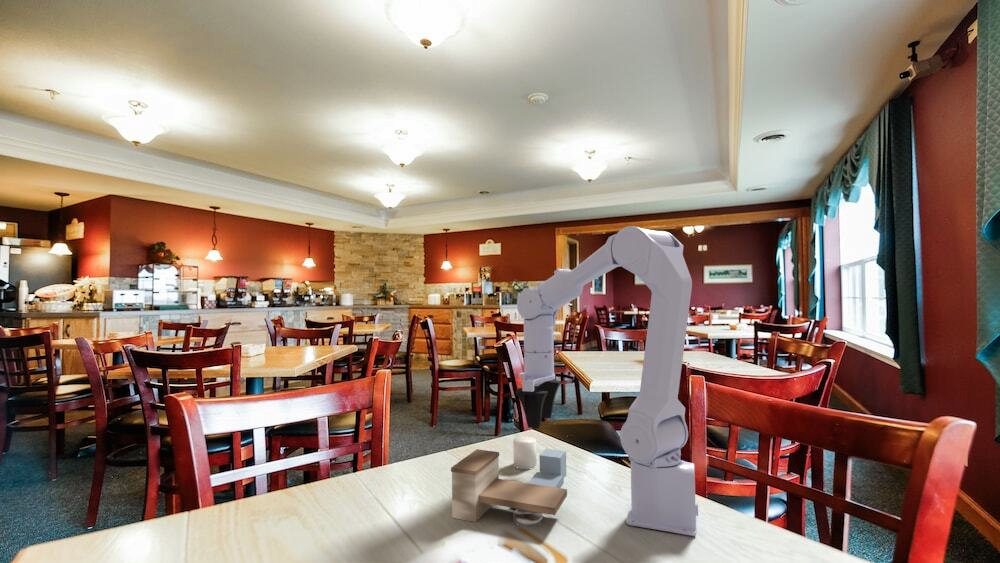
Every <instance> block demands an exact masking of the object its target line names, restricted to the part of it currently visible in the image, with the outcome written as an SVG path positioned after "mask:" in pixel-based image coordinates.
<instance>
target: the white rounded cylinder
mask: <svg viewBox="0 0 1000 563" xmlns="http://www.w3.org/2000/svg"><path fill="white" fill-rule="evenodd" d="M512 441H513V442H512V443H513V446H512V447H513V450H512V452H513V453H512V454H513V467H514V466H515V467H518V468H522V469H521V470H531V469H530V468H533V469H535V468H536V467H537V466H538V465H537V460H538V459H537V439H536V438H535V437H531V436H518V437H516V438H513V440H512ZM536 465H537V466H536ZM535 466H536V467H535ZM515 467H514V468H515ZM534 467H535V468H534ZM518 468H517V469H518Z"/></svg>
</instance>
